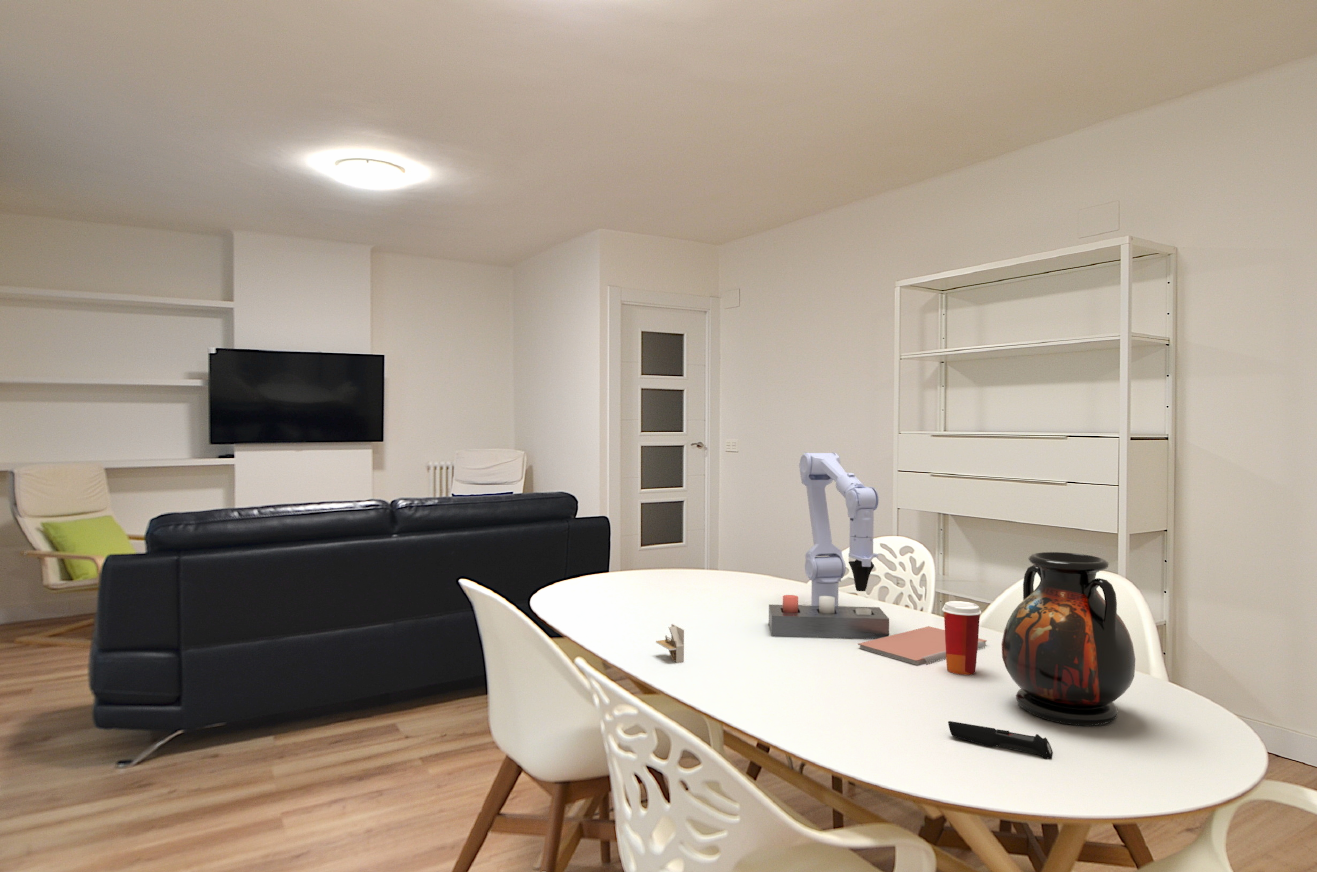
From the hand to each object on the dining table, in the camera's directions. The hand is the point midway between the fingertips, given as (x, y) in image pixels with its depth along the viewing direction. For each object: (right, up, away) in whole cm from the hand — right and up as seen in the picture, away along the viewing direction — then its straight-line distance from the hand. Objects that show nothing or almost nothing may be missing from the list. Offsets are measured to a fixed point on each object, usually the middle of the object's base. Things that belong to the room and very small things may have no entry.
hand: (860, 590), depth 195 cm
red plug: (-17, -7, +1) cm, 19 cm away
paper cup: (+13, -11, -30) cm, 35 cm away
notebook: (+12, -12, -13) cm, 21 cm away
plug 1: (-8, -7, +1) cm, 11 cm away
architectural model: (-47, -11, -23) cm, 53 cm away
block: (-8, -10, +1) cm, 13 cm away
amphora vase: (+24, -12, -53) cm, 59 cm away
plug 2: (+1, -10, 0) cm, 10 cm away
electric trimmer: (+5, -12, -69) cm, 70 cm away
